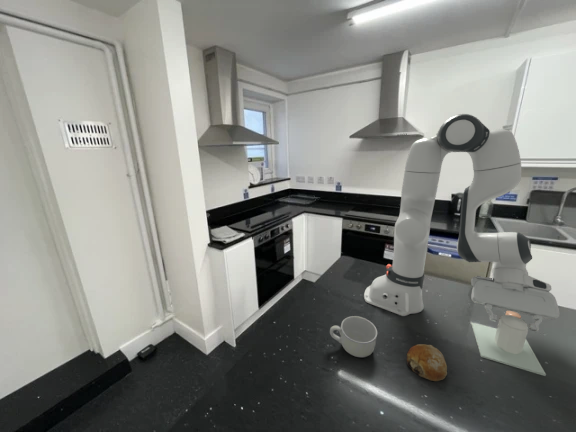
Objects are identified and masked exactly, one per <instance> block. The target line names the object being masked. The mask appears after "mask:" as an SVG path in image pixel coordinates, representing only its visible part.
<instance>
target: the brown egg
mask: <svg viewBox="0 0 576 432" xmlns="http://www.w3.org/2000/svg"><path fill="white" fill-rule="evenodd" d="M504 315H511V316H515V317H517V318H520V319H522V316H521V313H517V312H513V311H508V310H505V314H504Z"/></svg>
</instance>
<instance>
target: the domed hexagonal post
mask: <svg viewBox="0 0 576 432" xmlns="http://www.w3.org/2000/svg"><path fill="white" fill-rule="evenodd" d="M528 327H529V325H528V323H527V322H526V321H525V320H524V319H522V318H521V319H520V318H517V317H515V316H511V315H505V314H502V315H501V316H500V318H498V324H497V327H496V329H497V331H496V335H495V339H494V340H495V343H496V345H497V346H498V347H500V348H501V349H503V350H504V351H506V352H510V353H513V354H519V353H521V352H522V350H523V347H524V343H525V340H527V336H528V332H529V328H528Z"/></svg>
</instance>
